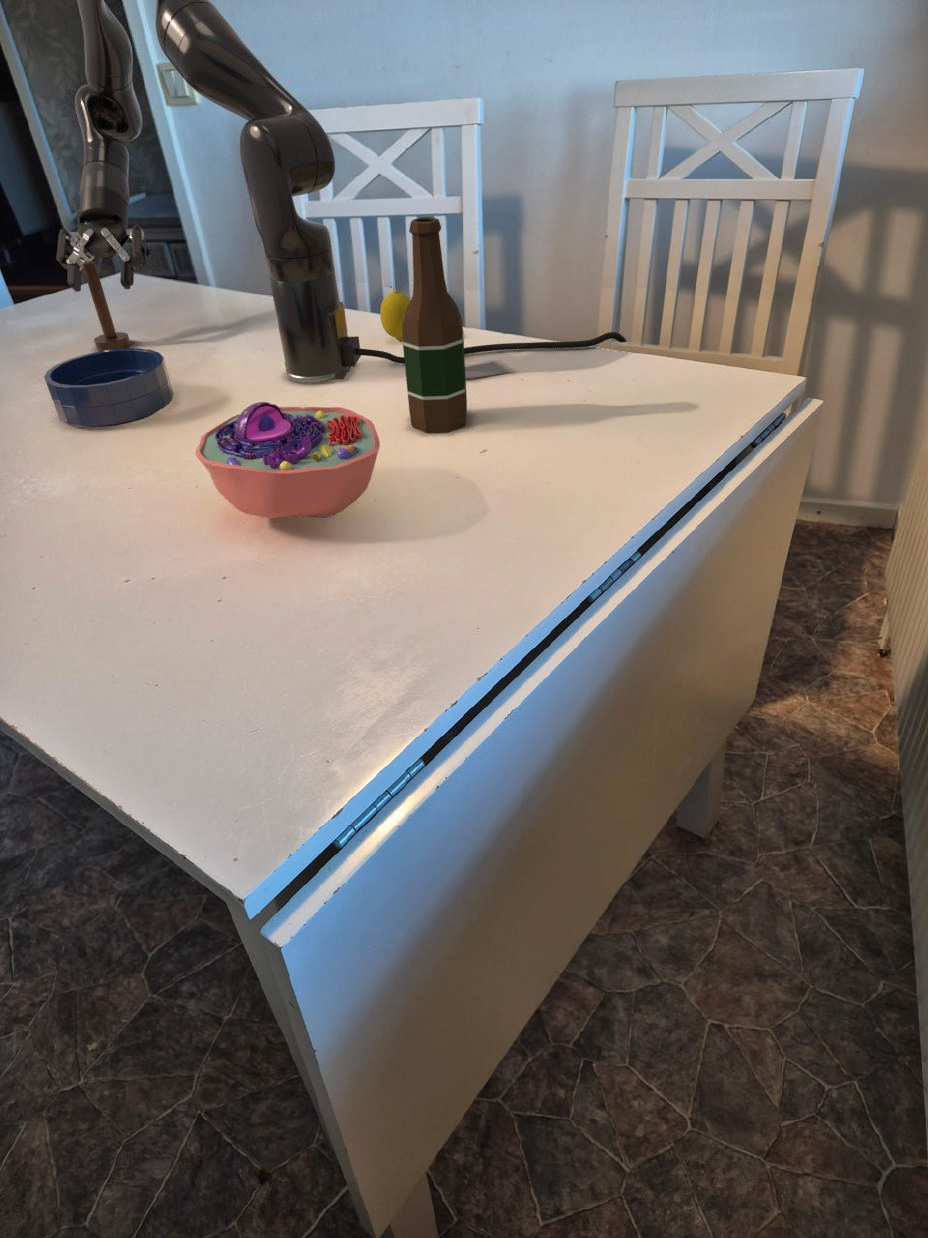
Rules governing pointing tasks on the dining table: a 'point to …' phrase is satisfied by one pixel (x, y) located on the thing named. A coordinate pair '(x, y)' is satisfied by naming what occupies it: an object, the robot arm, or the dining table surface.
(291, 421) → the cell model
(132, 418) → the blue round bowl
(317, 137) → the robot arm
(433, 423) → the beer bottle
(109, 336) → the wooden plunger stick
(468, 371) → the cleaver
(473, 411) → the dining table surface
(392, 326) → the lemon
